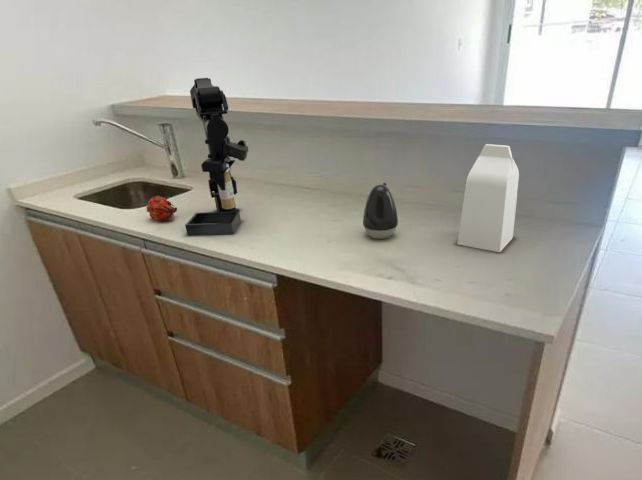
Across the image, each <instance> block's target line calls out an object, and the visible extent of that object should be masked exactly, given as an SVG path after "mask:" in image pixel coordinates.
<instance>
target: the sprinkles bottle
mask: <svg viewBox="0 0 642 480" xmlns="http://www.w3.org/2000/svg"><path fill="white" fill-rule="evenodd" d="M226 167H229V164H228V163H226ZM229 170H230V171H229ZM230 173H231V169H229V168H228V169H227V171H226V172H225V190H221V189H220V187H219V186H218V190H219V195H220V198H221V203H222V208H224V209H232V208H234V207H235V208H236V207H237V203H236V200H235V195H234V192H233V186H232V181H231V177H232V176H231V177H230ZM217 185H218V184H217Z"/></svg>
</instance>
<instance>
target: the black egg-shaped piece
mask: <svg viewBox="0 0 642 480" xmlns="http://www.w3.org/2000/svg"><path fill="white" fill-rule="evenodd" d="M362 216H363V218H362V226H363V228H364V230H365V233H366V234H367V235H368V236H369V237H371V238H373V239H377V240H382V239H388V238H389V237H391V236H393V235H394V233H395V232H396V230H397V227H398V225H399V219H398V218H399V217H398V211H397V207H396V202H395V199H394V196H393V194H392V191H391V190H390V189H389V187H388V186H387V183H386V182H383V183H382V184H376V185H374V186H373V187H372V188H371V190H370V192H369V193H368V196H367V198H366V203H365V207H364V211H363V215H362Z"/></svg>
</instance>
